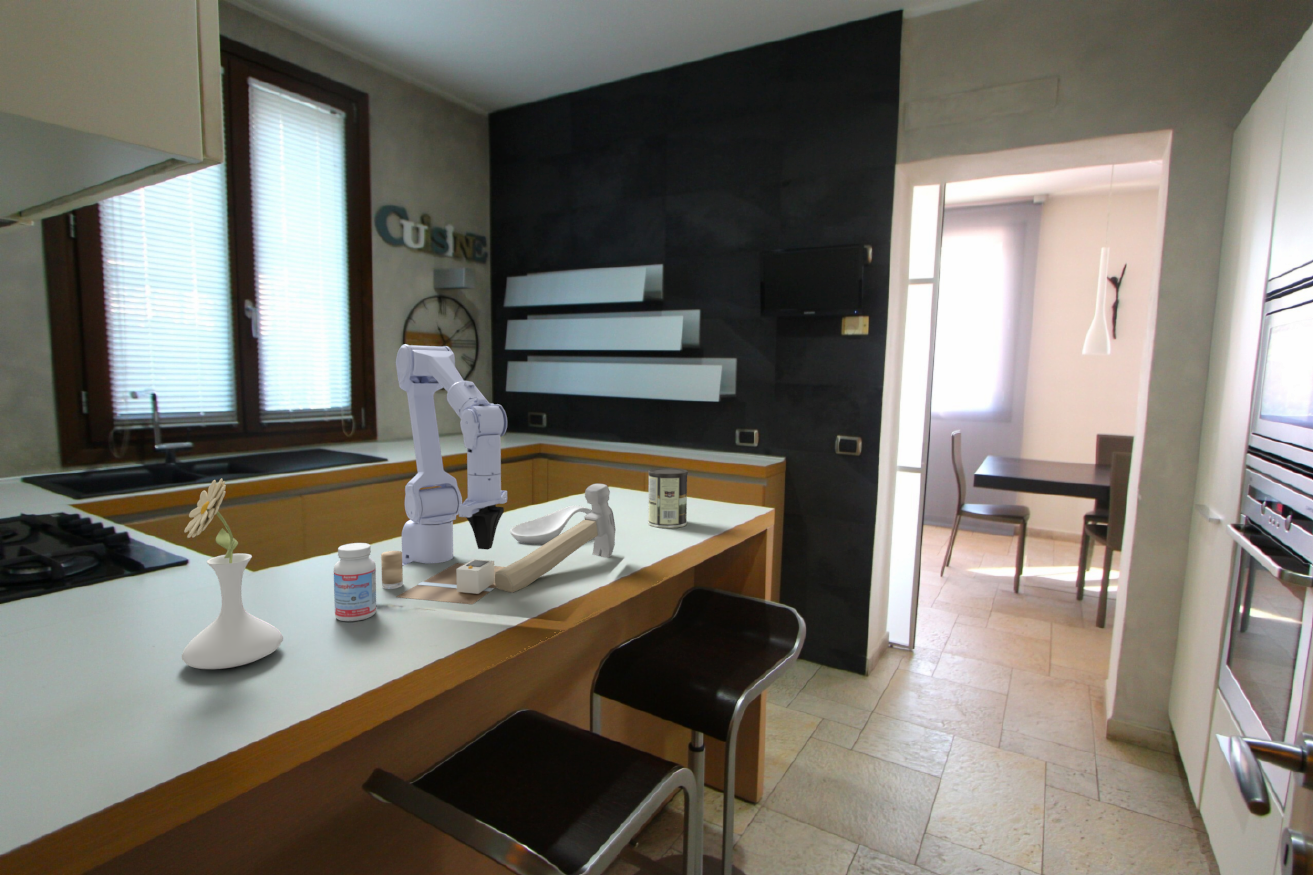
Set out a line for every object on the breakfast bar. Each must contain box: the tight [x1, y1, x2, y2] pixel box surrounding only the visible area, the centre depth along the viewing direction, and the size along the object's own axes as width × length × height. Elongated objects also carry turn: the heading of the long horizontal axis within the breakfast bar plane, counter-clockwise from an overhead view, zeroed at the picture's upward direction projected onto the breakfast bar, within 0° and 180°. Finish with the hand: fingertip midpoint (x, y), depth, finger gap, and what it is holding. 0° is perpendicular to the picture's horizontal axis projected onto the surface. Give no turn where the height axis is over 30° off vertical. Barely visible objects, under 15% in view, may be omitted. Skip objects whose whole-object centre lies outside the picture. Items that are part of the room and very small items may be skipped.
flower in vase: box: [181, 478, 284, 670], centre depth 84 cm, size 13×11×25 cm
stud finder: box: [456, 558, 495, 594], centre depth 111 cm, size 4×6×4 cm, turn 168°
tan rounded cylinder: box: [380, 550, 404, 590], centre depth 112 cm, size 3×3×7 cm
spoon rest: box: [509, 505, 592, 546], centre depth 151 cm, size 24×12×7 cm, turn 135°
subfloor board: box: [395, 562, 506, 605], centre depth 115 cm, size 14×20×1 cm
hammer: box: [495, 483, 617, 593], centre depth 122 cm, size 16×5×30 cm
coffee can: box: [647, 467, 689, 529], centre depth 167 cm, size 10×10×14 cm
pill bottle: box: [333, 542, 377, 622], centre depth 101 cm, size 6×6×11 cm
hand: (484, 548), depth 114 cm, fingers closed
